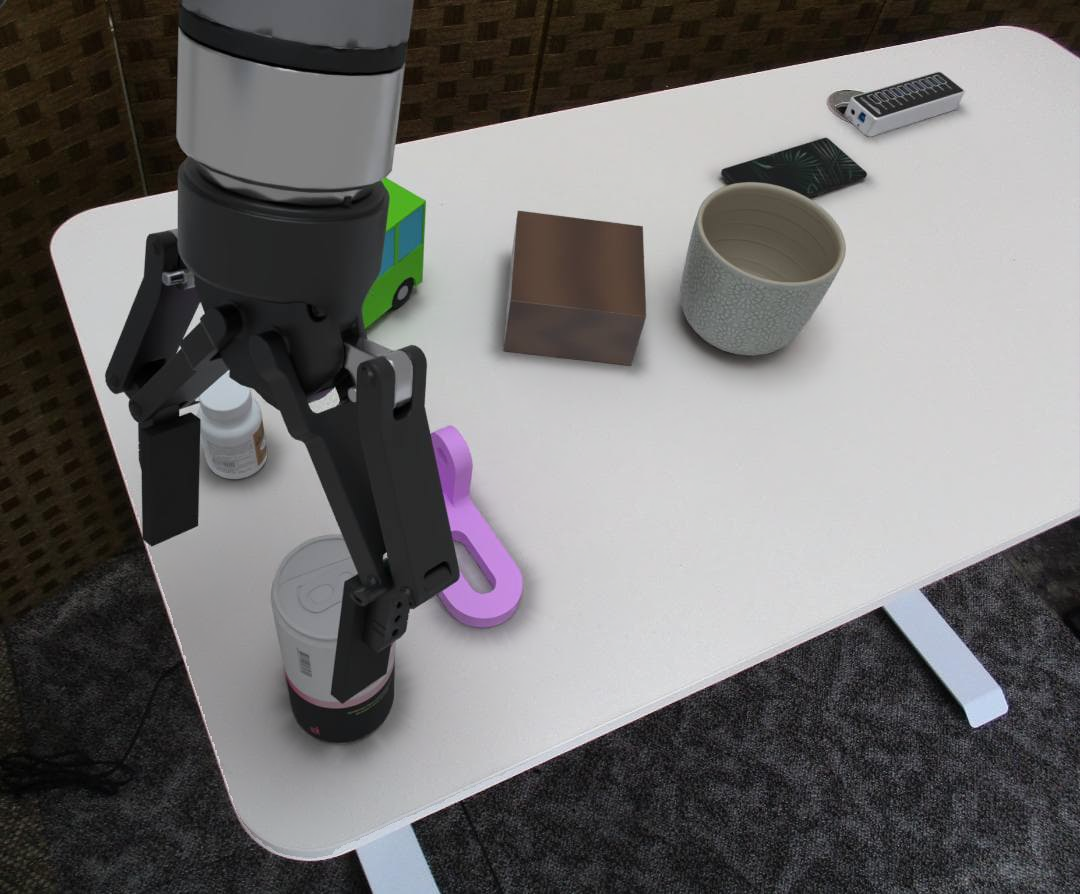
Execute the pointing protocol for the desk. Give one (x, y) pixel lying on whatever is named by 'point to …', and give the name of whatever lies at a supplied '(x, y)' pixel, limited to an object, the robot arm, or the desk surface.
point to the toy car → (398, 253)
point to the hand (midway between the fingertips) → (258, 604)
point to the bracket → (473, 540)
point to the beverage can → (322, 643)
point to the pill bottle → (231, 429)
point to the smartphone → (800, 169)
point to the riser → (575, 289)
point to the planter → (758, 266)
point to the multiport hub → (903, 103)
